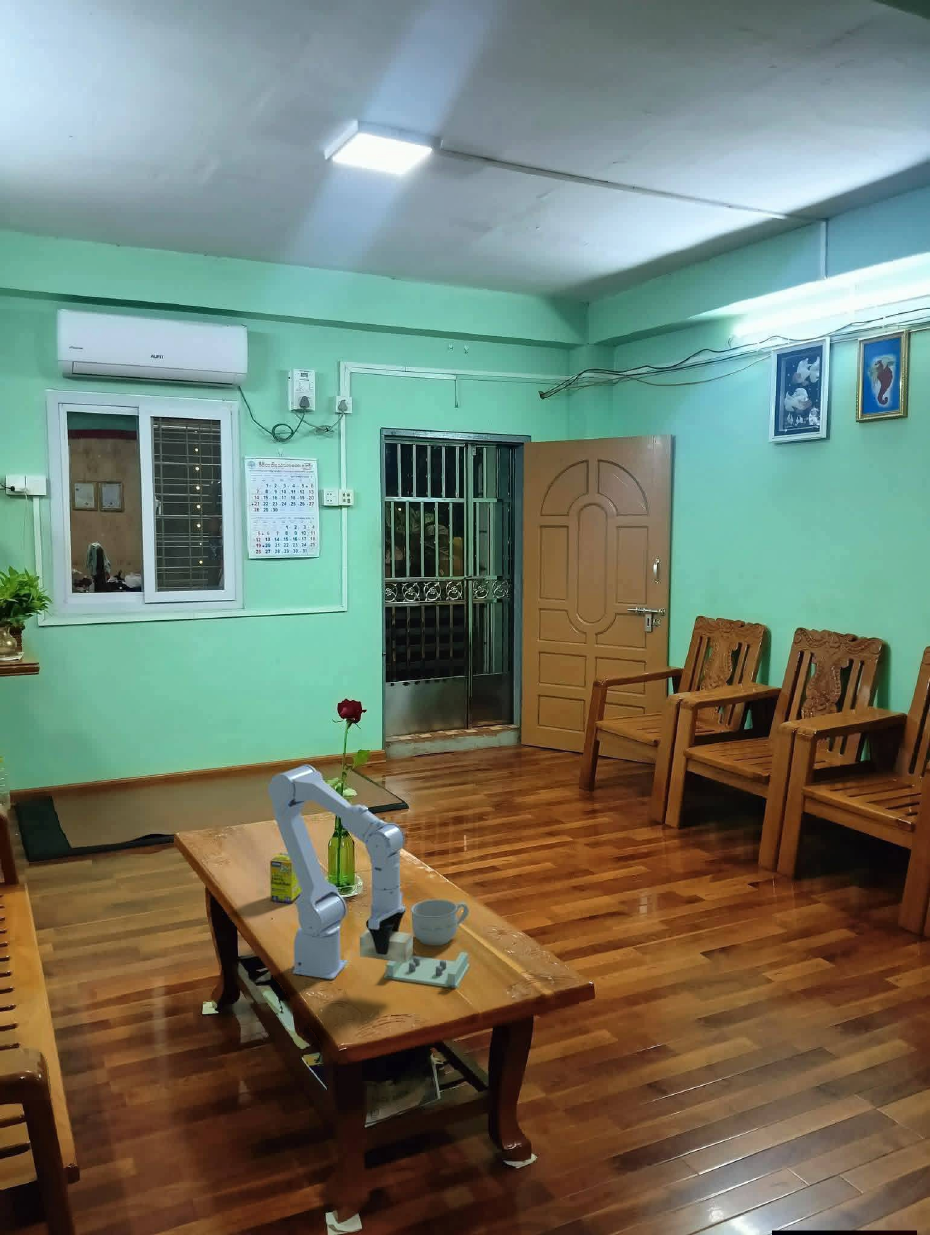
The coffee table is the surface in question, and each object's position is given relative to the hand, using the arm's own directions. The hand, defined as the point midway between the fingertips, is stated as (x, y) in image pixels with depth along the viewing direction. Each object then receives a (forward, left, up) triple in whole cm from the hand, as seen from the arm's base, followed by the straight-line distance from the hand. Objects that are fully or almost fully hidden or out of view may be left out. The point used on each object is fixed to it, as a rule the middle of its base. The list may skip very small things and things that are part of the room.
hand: (386, 948), depth 193 cm
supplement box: (-41, +36, -9) cm, 55 cm away
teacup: (+4, +25, -9) cm, 27 cm away
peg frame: (+6, +9, -9) cm, 14 cm away
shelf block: (0, 0, -1) cm, 1 cm away
